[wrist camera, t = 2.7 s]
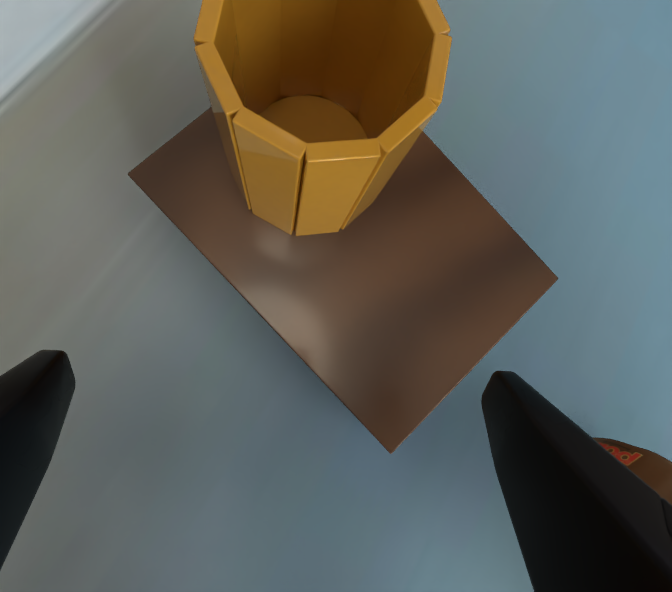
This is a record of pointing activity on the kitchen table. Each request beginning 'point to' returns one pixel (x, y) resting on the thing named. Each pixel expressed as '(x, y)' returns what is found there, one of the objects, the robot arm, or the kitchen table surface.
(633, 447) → the tin
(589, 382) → the kitchen table surface
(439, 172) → the brown wooden board
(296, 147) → the cup
